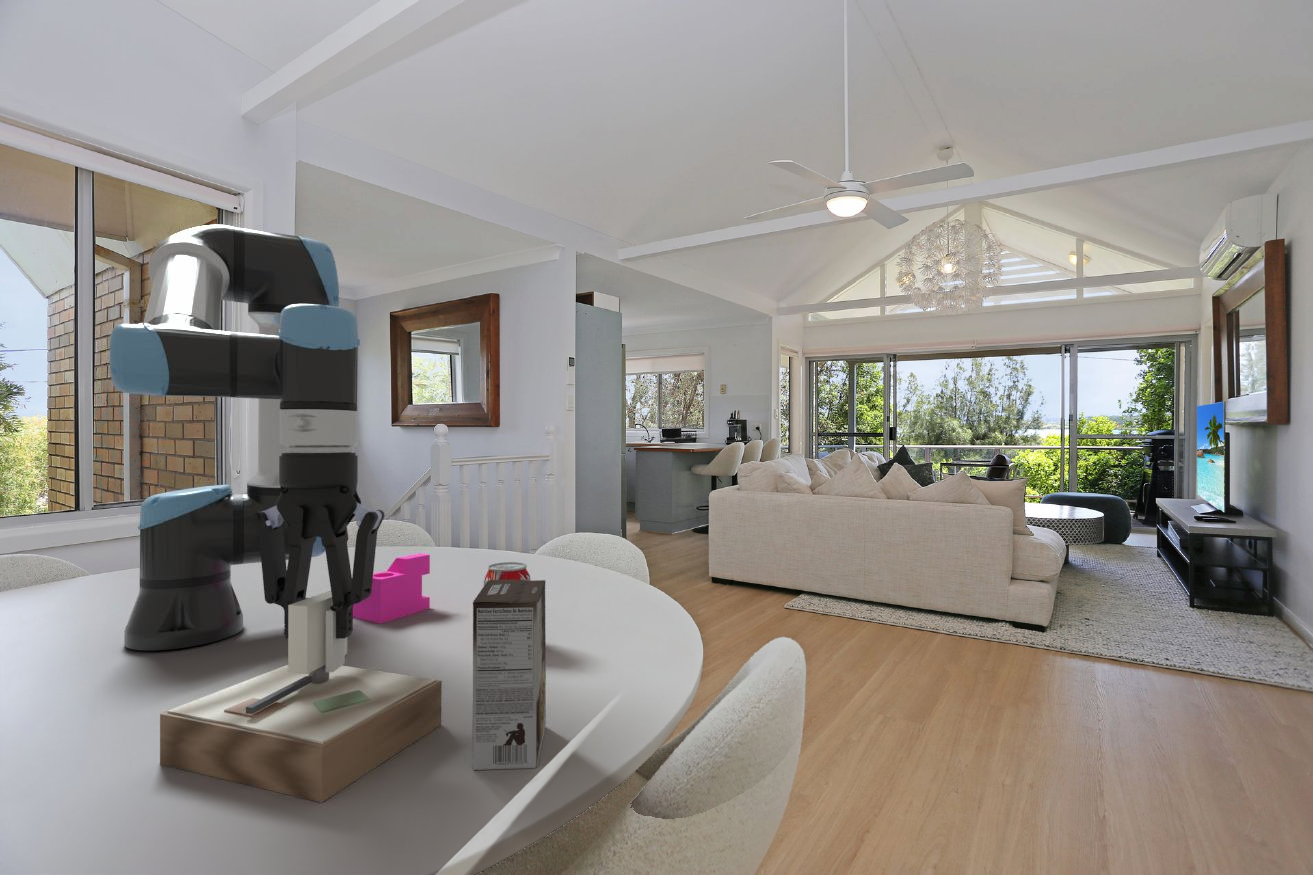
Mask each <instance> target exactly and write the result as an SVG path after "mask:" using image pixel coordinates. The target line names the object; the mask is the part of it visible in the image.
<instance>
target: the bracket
mask: <svg viewBox="0 0 1313 875" xmlns="http://www.w3.org/2000/svg"><path fill="white" fill-rule="evenodd" d="M430 559H431V555H430V554H426V553H416V554H409V555H404V556H398V557H396V558H395V559H394V560H393V562H392V563H391V565H390V566H389V567H388V569H387V570H385V571H381V572H375V573H374V572H373V581H372V591H371V595H370V597H368V598H367V599H365V600H363V601H361V602H359V603H357V604H354V606H353V618H357V619H360V620H364V621H368V622H372V623H377V624H383V623H386V622H389V621H393V620H396V619H399V618H403V617H406V616H408V615H412V614H415V613H419V612H421V611H425V610H429V609H430V606H431V604H430V602H431V599H430V596H425V595H423V576H426V575H428V574H430V573H431V569H430V568H431V567H430V566H431V560H430Z"/></svg>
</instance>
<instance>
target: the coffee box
mask: <svg viewBox="0 0 1313 875" xmlns="http://www.w3.org/2000/svg"><path fill="white" fill-rule="evenodd" d="M546 643H547V642H546V579H541V580H538V579H537V580H531V581H527V580H489V581H487V583H486V584H485V585H484V584H483V587H482V588H481V590H480V591H479V593H478V594H477V596H476V597H475V598H474V600H473V602H472V770H473V771H485V770H488V771H490V770H513V769H514V770H515V769H518V770H519V769H536V768H538V767H539V763H540V758H541V752H542V747H543V742H544V738H545V737H544V736H545V732H546V731H545V730H546V725H547V714H546V713H547V712H546V711H547V710H546V709H547V708H546V707H547V706H546V705H547V704H546V701H547V700H546V699H547V697H546V694H547V693H546V689H547V688H546V684H547V682H546V681H547V680H546V679H547V676H546V674H547V673H546V671H547V669H546V664H547V663H546V656H547V655H546V649H547V648H546Z"/></svg>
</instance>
